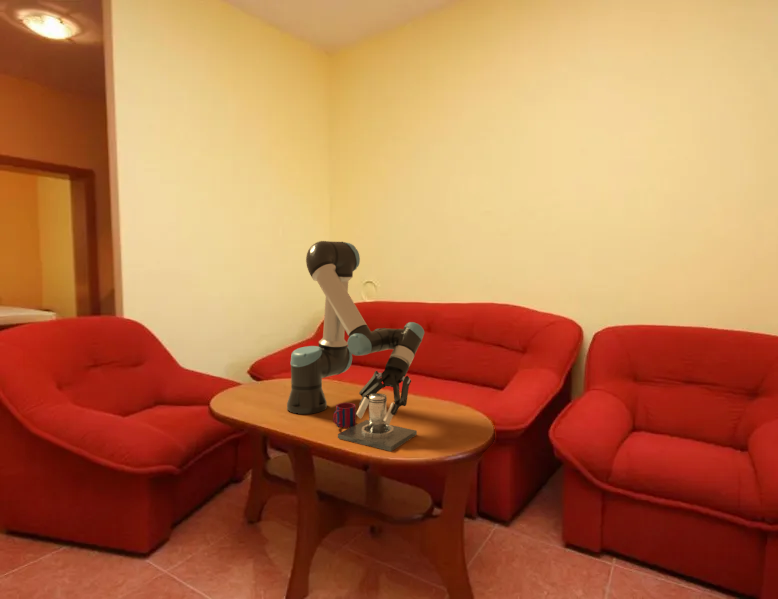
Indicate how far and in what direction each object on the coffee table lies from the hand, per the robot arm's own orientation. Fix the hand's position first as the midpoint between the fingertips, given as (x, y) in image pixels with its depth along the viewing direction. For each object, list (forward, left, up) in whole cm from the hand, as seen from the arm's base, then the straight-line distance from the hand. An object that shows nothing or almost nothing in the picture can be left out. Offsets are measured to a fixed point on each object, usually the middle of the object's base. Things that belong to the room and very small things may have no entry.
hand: (372, 419), depth 149 cm
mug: (-16, -6, -7) cm, 18 cm away
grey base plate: (-2, +2, -7) cm, 7 cm away
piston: (-2, +2, -5) cm, 6 cm away
